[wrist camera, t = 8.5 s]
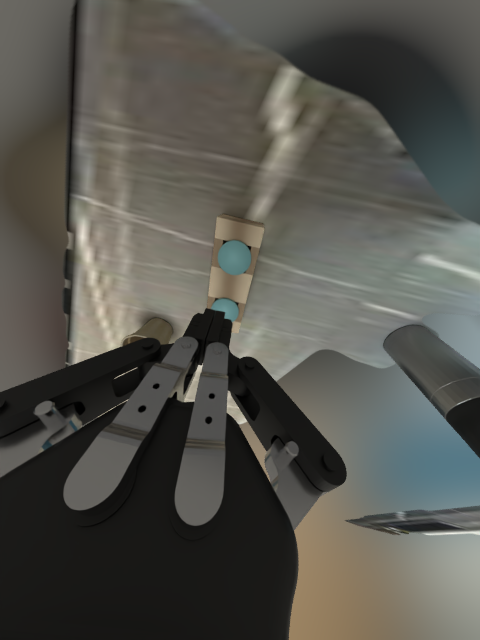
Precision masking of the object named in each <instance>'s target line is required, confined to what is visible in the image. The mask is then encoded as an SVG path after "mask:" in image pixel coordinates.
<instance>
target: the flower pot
mask: <svg viewBox="0 0 480 640" xmlns="http://www.w3.org/2000/svg"><path fill="white" fill-rule="evenodd" d="M172 332H173V330H172V327H171V325H170V324H169V323H167V322H165V321H164V320H163V319H159V318H155V319H151V320H150V321H149V322H148V323H146V324H145V325H144V326H143V327H142V328H140V329H139V330H138V331H137V332H135V333H133V334H131V335H129V336H126V337H125V338H124V339H123V340H122V342H121V347H122V346H124V345H127V344H130V343H132V342H135V341H138V340H140V339H143V338H155V339H157V340H159V342H160V345H161V344H168V343H169V340H170V338H171V335H172Z"/></svg>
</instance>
